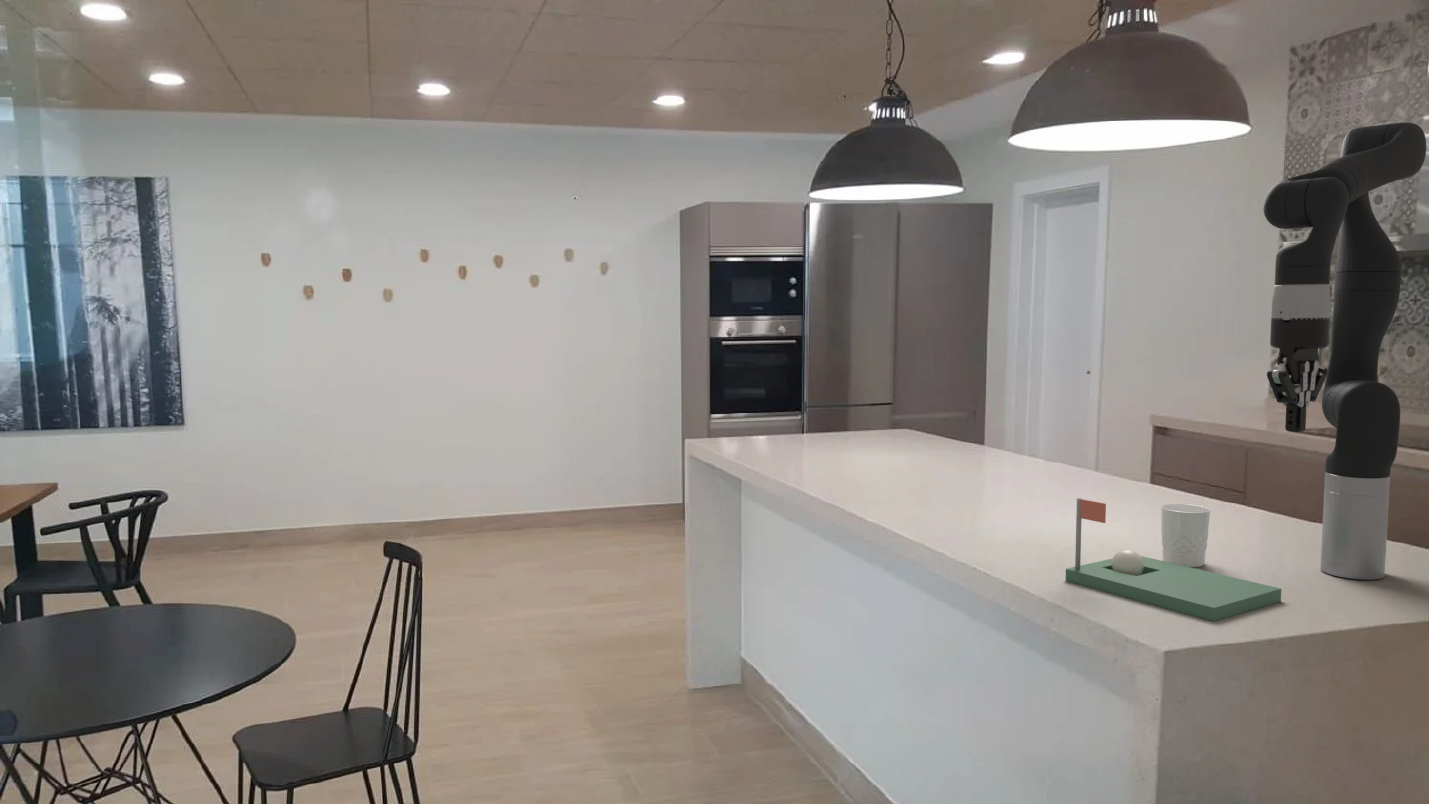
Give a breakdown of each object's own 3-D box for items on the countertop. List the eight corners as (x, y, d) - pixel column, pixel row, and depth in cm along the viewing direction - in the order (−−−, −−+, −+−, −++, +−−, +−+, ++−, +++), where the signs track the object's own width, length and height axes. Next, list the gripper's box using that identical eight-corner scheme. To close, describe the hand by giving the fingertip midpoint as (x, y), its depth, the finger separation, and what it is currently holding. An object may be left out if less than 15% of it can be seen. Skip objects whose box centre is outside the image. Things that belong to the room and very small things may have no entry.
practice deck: (1132, 565, 173) (1134, 487, 172) (1280, 601, 151) (1284, 512, 150) (1065, 580, 164) (1067, 498, 163) (1213, 621, 142) (1217, 527, 140)
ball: (1124, 548, 167) (1149, 549, 163) (1126, 577, 167) (1151, 579, 162) (1104, 549, 165) (1128, 550, 160) (1106, 579, 164) (1130, 581, 160)
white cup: (1166, 555, 180) (1168, 502, 179) (1212, 561, 175) (1214, 507, 174) (1154, 563, 174) (1155, 508, 173) (1201, 571, 169) (1204, 514, 168)
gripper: (1298, 315, 151) (1293, 426, 153) (1250, 316, 144) (1245, 432, 146) (1350, 315, 145) (1344, 430, 146) (1302, 316, 138) (1297, 437, 139)
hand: (1295, 431), depth 146 cm, fingers closed
